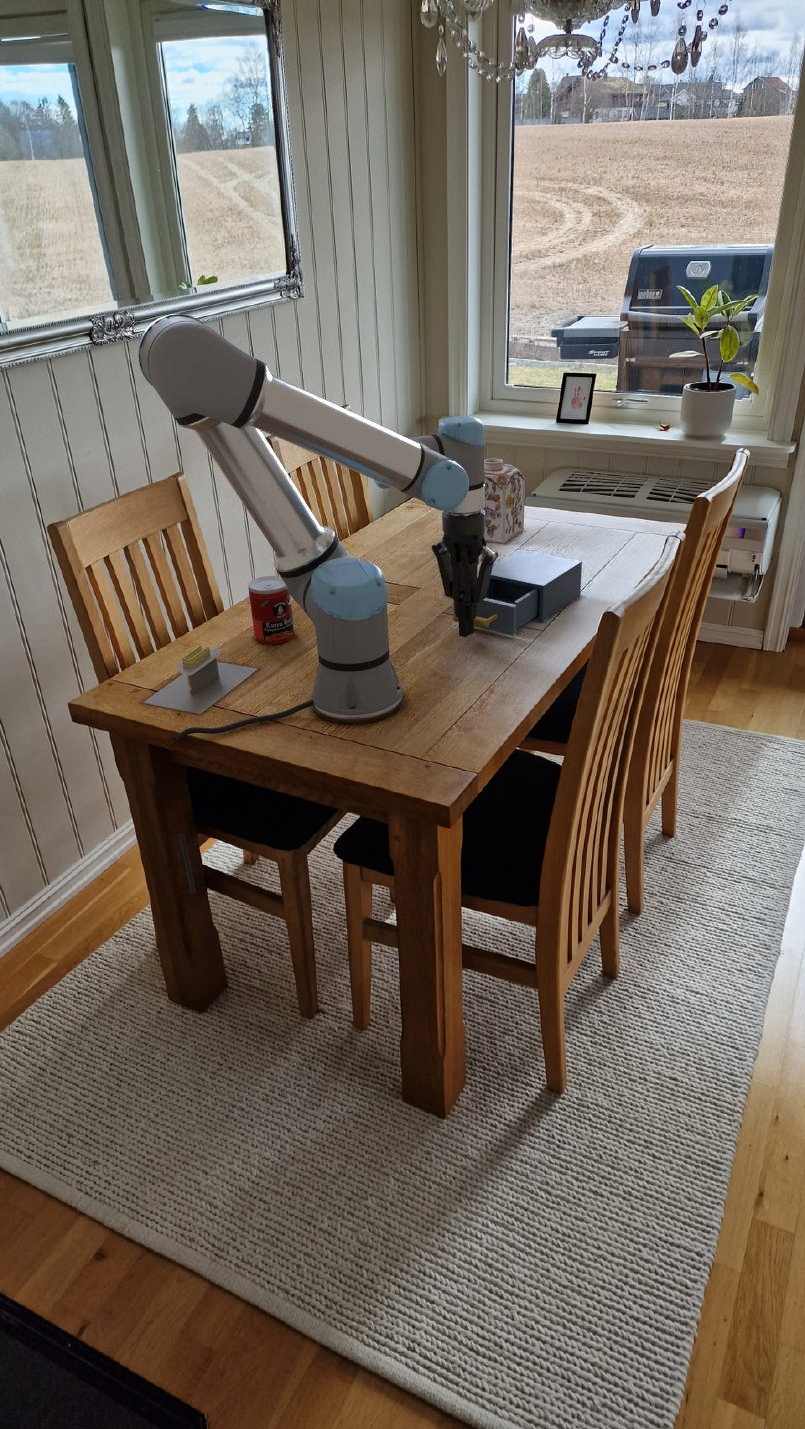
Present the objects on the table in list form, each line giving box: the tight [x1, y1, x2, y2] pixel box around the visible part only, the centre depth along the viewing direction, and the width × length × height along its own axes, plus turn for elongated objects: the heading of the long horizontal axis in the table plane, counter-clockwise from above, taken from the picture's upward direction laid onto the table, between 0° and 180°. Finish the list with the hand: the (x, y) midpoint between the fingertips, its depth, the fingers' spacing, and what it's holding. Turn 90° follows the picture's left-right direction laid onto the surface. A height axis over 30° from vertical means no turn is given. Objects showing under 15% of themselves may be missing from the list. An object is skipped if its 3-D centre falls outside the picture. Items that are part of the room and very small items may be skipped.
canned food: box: [248, 575, 295, 645], centre depth 184 cm, size 8×8×11 cm
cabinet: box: [490, 549, 583, 623], centre depth 194 cm, size 16×15×8 cm
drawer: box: [453, 578, 540, 637], centre depth 186 cm, size 19×13×6 cm
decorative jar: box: [483, 457, 526, 545], centre depth 230 cm, size 12×12×18 cm
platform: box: [142, 644, 259, 715], centre depth 168 cm, size 12×18×7 cm, turn 155°
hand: (466, 634), depth 179 cm, fingers closed
